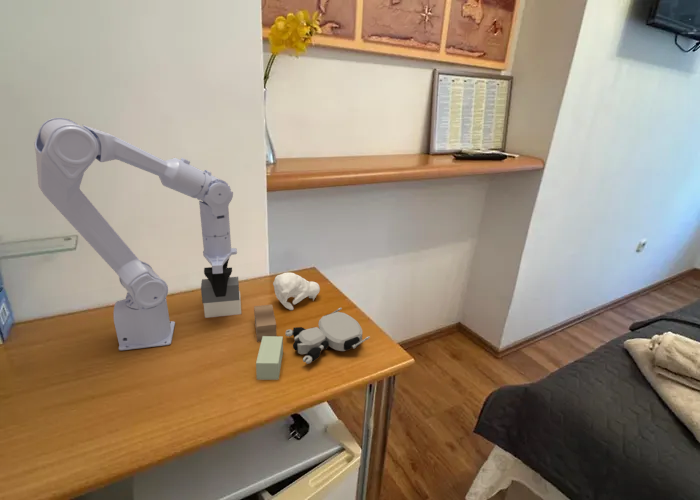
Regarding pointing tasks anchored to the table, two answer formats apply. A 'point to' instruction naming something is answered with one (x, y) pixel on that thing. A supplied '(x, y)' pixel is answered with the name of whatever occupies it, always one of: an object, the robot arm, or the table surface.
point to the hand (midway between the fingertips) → (220, 287)
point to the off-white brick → (222, 308)
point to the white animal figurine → (294, 288)
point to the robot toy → (327, 335)
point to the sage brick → (269, 358)
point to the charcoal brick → (231, 295)
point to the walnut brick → (264, 321)
